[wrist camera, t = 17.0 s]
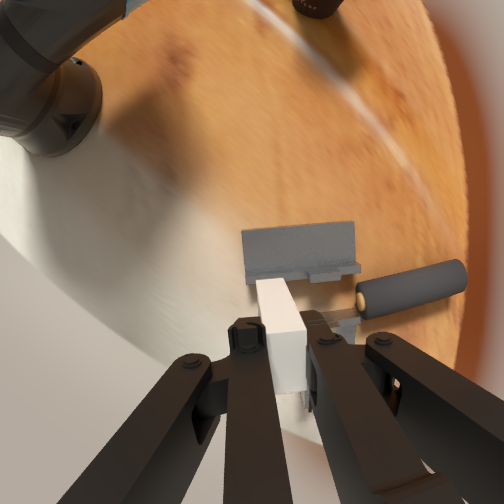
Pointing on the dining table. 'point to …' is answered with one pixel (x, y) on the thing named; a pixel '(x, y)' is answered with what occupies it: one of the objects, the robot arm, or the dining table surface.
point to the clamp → (305, 263)
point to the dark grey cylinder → (410, 288)
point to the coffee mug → (317, 7)
